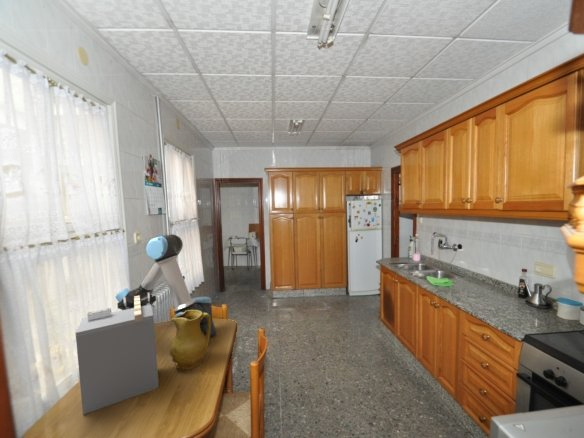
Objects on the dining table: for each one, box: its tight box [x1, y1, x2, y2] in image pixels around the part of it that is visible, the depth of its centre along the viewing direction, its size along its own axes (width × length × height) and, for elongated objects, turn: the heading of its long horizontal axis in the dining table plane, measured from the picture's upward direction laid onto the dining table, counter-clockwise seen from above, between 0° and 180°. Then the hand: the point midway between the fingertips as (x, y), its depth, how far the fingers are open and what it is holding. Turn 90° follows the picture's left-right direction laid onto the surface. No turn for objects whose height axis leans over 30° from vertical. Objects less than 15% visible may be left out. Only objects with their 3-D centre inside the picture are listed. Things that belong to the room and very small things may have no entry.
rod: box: [134, 295, 142, 322], centre depth 120 cm, size 30×2×2 cm, turn 31°
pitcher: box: [169, 310, 211, 371], centre depth 131 cm, size 17×19×25 cm
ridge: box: [86, 307, 112, 321], centre depth 113 cm, size 2×8×3 cm, turn 121°
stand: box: [75, 304, 160, 416], centre depth 113 cm, size 16×26×32 cm, turn 121°
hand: (136, 297), depth 127 cm, fingers open, 9 cm apart
